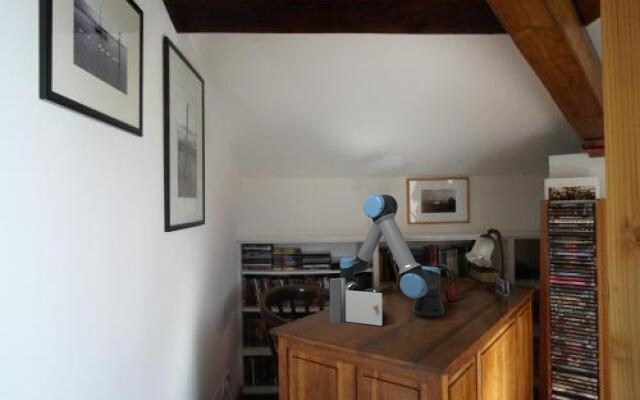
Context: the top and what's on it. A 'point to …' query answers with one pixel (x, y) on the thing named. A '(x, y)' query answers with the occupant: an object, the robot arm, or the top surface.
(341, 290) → the wall frame
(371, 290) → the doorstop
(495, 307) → the top surface
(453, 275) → the headphones
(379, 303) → the door
